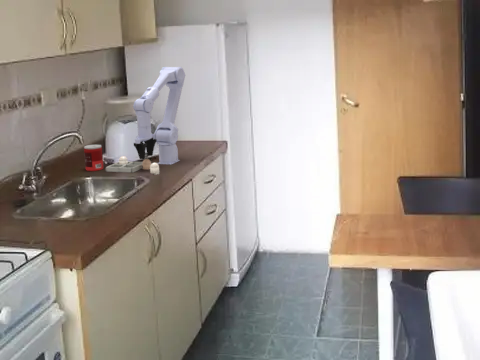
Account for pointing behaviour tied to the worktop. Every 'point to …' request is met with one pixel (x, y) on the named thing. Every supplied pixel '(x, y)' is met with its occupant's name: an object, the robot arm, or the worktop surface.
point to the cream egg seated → (123, 160)
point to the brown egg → (146, 164)
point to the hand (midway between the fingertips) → (146, 157)
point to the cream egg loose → (154, 168)
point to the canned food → (93, 157)
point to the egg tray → (125, 167)
